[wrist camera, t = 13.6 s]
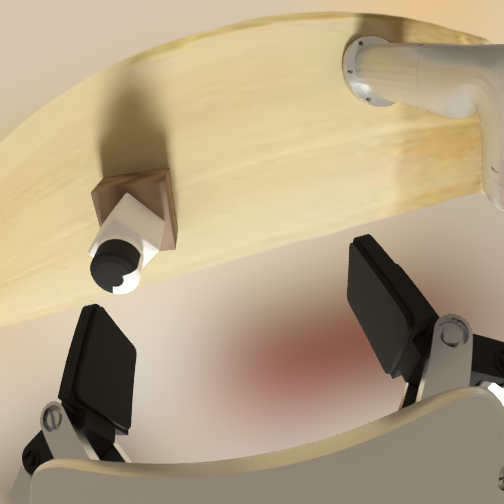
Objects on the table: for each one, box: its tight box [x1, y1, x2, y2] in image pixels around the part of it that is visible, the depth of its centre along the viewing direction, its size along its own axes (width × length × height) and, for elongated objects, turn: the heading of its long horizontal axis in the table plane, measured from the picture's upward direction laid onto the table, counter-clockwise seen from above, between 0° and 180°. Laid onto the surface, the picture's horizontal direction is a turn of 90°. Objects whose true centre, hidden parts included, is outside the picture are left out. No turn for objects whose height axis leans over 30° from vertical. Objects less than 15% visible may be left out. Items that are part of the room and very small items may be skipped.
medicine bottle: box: [88, 193, 165, 294], centre depth 32 cm, size 7×7×12 cm
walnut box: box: [91, 168, 178, 251], centre depth 39 cm, size 11×11×6 cm
